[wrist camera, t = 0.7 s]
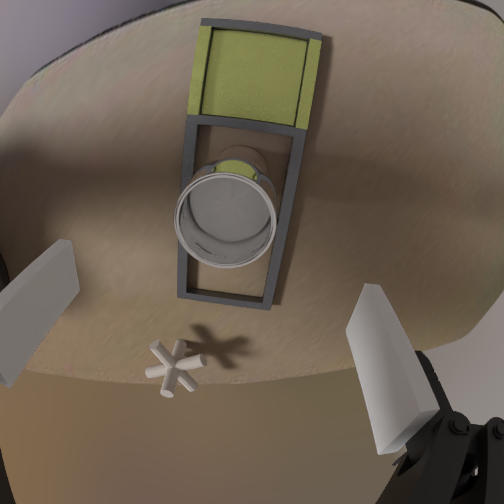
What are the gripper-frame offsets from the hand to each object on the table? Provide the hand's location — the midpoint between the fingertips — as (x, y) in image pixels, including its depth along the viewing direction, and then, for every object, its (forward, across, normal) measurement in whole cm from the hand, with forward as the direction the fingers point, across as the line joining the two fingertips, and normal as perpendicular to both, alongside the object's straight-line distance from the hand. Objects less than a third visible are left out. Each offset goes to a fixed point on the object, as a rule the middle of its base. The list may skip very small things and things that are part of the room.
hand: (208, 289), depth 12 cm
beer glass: (+22, 0, 0) cm, 22 cm away
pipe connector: (+22, -6, -27) cm, 36 cm away
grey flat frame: (+22, 0, 0) cm, 22 cm away
